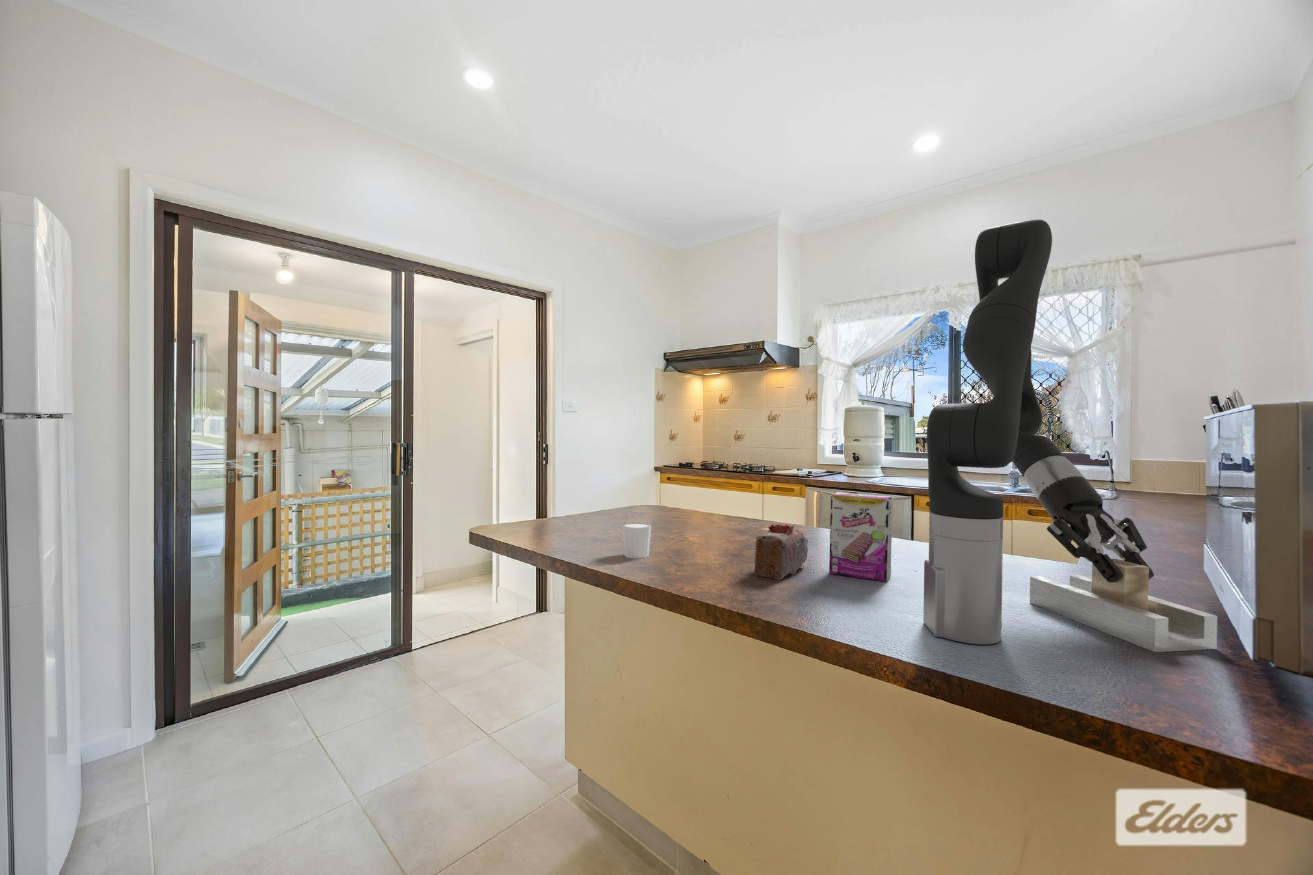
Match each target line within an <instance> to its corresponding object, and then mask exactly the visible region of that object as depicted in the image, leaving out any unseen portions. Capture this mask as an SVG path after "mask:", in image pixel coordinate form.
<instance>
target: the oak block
mask: <svg viewBox="0 0 1313 875" xmlns="http://www.w3.org/2000/svg"><path fill="white" fill-rule="evenodd" d="M1110 559H1111V560H1112V561H1113V562H1114V564H1115V565H1116V566H1117V568H1118V569H1119V570H1120V571H1121V573H1122V574H1123V577H1122V578H1121V579H1120V580H1118V581H1117V582H1115V583H1109V582H1108V581H1107V580H1106V579H1105V578H1104V577H1103V576H1102V575H1101V574H1100V572H1099V571H1098V570H1097V568H1096V567H1095V566H1094V564H1093V563H1092V562H1091V566H1092V567H1091V568H1092V570H1091V579H1092V590H1091V593H1093V594H1096V595H1099V596H1103V597H1106V598H1109V599H1112V600H1115V601H1118V602H1121V603H1124V604H1127V605H1130V606H1133V607H1136V608H1139V609H1142V610H1145V611H1148V595H1149V584H1150V579H1149V567H1150V566H1149V567H1147V566H1143V565H1139V564H1135V563H1131V562H1127V561H1124V560H1123V559H1118V558H1110Z"/></svg>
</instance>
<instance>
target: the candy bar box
mask: <svg viewBox="0 0 1313 875" xmlns="http://www.w3.org/2000/svg"><path fill="white" fill-rule="evenodd" d="M893 502H894V501H893V496H890V495H889V496H888V495H876V494H865V493H851V492H840V491H836V492H834V493H831V495H830V515H829V516H830V517H829V518H830V522H829V523H830V524H829V526H830V528H829V530H830V531H829V560H828V561H829V562H828V563H829V564H828V567H829V568H828V569H829V571H828V572H829V574H831V575H839V576H843V577H844V576H845V577H849V578H857V579H863V580H869V581H876V582H881V583H882V582H883V583H887V582H888V581H889V579H891V576H892V542H893V540H892V537H893V536H892V535H893V533H892V532H893V504H894V503H893Z"/></svg>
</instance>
